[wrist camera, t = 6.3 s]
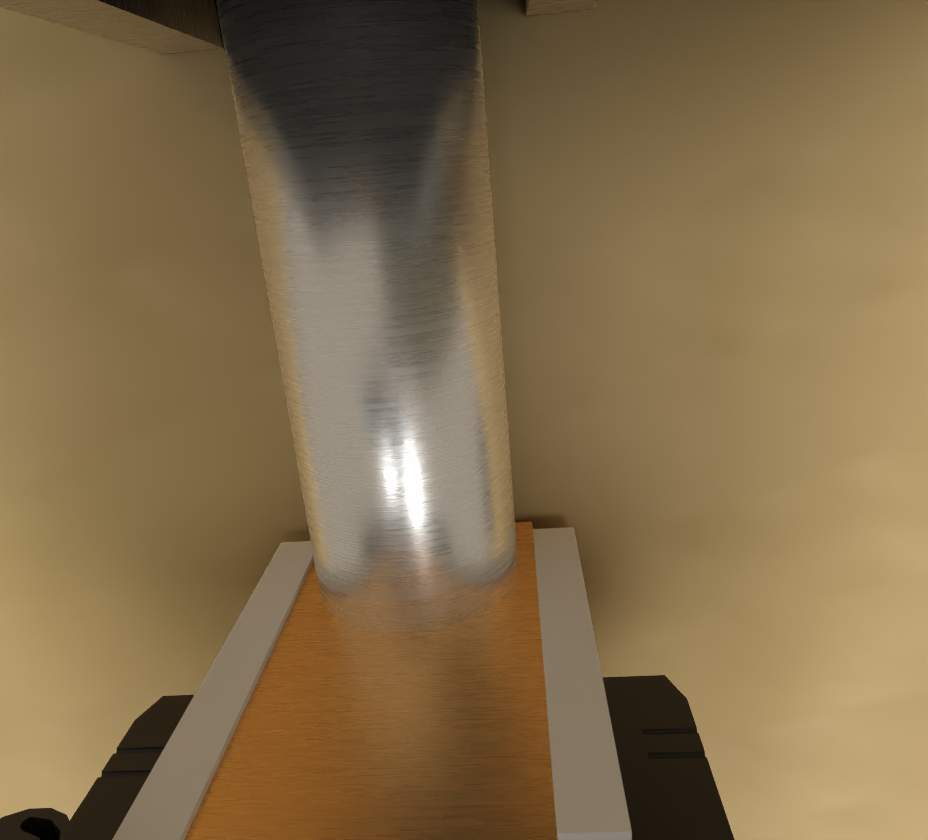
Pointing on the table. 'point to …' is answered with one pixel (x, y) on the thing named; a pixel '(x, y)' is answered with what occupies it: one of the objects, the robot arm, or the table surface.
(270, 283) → the orange and grey piece
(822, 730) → the table surface
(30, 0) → the grey block
